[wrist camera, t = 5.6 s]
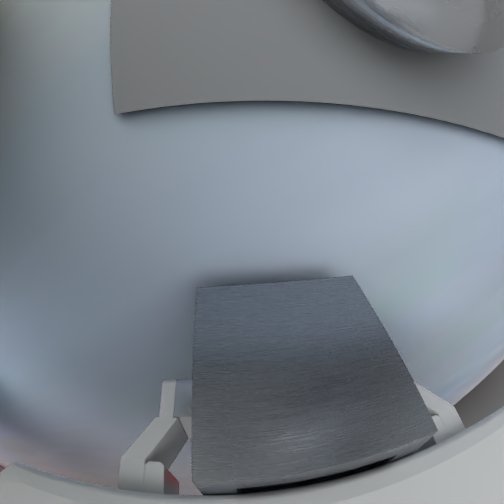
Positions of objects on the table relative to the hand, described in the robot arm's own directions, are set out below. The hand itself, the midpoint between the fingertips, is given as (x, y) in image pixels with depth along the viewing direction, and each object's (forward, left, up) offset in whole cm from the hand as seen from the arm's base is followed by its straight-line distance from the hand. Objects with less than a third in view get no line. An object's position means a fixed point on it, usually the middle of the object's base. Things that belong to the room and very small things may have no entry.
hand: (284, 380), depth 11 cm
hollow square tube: (0, 0, -2) cm, 2 cm away
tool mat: (+5, +22, -4) cm, 23 cm away
